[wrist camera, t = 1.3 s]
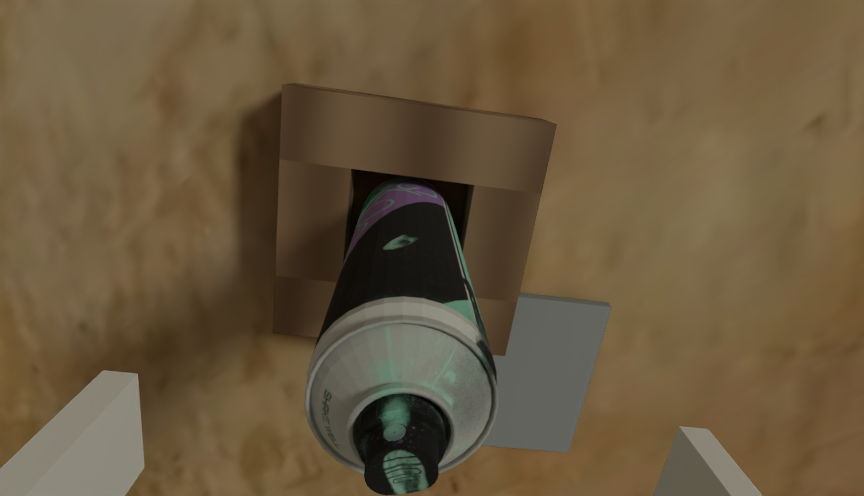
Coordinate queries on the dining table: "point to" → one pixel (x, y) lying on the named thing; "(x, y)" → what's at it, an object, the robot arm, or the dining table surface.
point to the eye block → (409, 156)
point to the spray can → (402, 347)
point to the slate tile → (546, 371)
